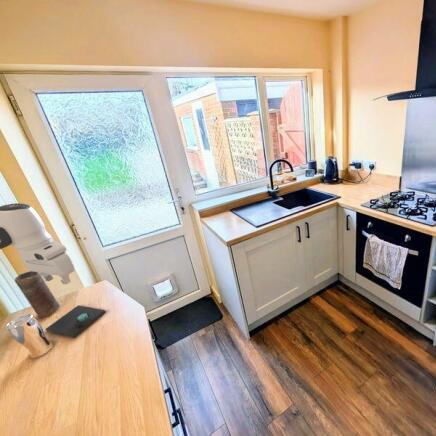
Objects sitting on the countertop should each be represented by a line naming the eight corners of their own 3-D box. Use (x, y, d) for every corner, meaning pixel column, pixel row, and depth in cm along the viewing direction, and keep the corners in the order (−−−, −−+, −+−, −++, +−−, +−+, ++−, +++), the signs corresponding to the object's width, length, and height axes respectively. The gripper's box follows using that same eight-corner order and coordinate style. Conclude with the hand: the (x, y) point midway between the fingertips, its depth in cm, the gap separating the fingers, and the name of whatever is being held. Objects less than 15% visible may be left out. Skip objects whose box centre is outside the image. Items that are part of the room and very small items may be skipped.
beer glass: (35, 346, 92) (12, 317, 86) (58, 339, 94) (37, 310, 88) (25, 362, 86) (-1, 332, 80) (49, 354, 88) (25, 324, 82)
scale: (46, 331, 99) (42, 326, 97) (79, 307, 110) (76, 302, 108) (75, 338, 94) (71, 332, 93) (106, 312, 105) (103, 307, 104)
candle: (54, 304, 114) (31, 268, 105) (64, 306, 111) (41, 270, 103) (35, 316, 107) (8, 280, 99) (45, 319, 105) (19, 282, 97)
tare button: (77, 321, 98) (75, 318, 98) (84, 315, 101) (83, 312, 100) (82, 322, 97) (80, 319, 97) (90, 316, 100) (88, 313, 99)
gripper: (8, 251, 84) (29, 283, 89) (47, 256, 78) (67, 290, 83) (30, 242, 89) (49, 273, 95) (68, 246, 83) (86, 279, 89)
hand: (58, 281), depth 89 cm, fingers open, 8 cm apart
